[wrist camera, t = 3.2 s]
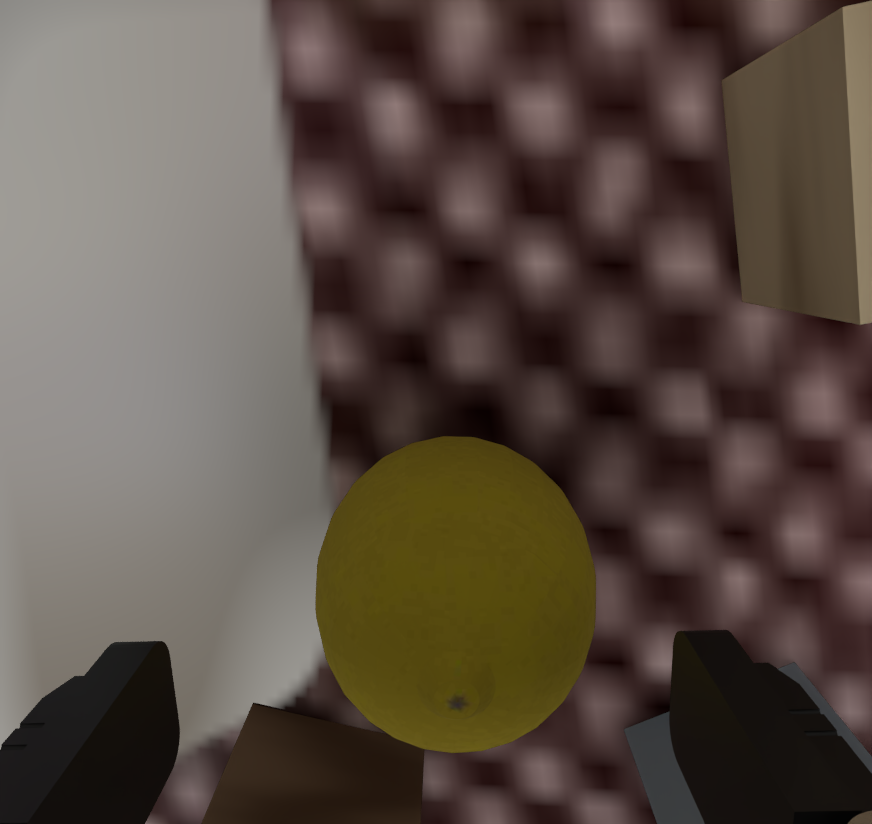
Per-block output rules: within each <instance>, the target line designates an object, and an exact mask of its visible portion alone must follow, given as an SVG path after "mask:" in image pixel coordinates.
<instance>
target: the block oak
mask: <svg viewBox="0 0 872 824" xmlns="http://www.w3.org/2000/svg"><path fill="white" fill-rule="evenodd" d="M722 91H723V102H724V113H725V123H726V134H727V144H728V155H729V166H730V176H731V187H732V197H733V208H734V219H735V229H736V240H737V250H738V261H739V272H740V282H741V293H742V302H746V303H751V304H756V305H762V306H767V307H772V308H777V309H782V310H787V311H792V312H798V313H803V314H808V315H813V316H818V317H823V318H828V319H833V320H839V321H844V322H849V323H854V324H859V325H862V324H867V323H872V1H868V2H864V3H859V4H854V5H850V6H845V7H842V8H840V9H839V10H837V11H835V12H834V13H832V14H830V15H829V16H827V17H825V18H824V19H822V20H820V21H819V22H817V23H815V24H814V25H812V26H811V27H809V28H807V29H806V30H804V31H802V32H801V33H799V34H797V35H796V36H794V37H792V38H791V39H789V40H787V41H786V42H784V43H782V44H781V45H779V46H778V47H776V48H774V49H773V50H771V51H769V52H768V53H766V54H764V55H763V56H761V57H759V58H758V59H756V60H754V61H753V62H751V63H750V64H748V65H746V66H745V67H743V68H741V69H740V70H738V71H736V72H735V73H733V74H731V75H730V76H728V77H726V78H725V79H723V80H722Z"/></svg>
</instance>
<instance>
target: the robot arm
mask: <svg viewBox="0 0 872 824" xmlns="http://www.w3.org/2000/svg"><path fill="white" fill-rule="evenodd" d="M669 727H670V736H671V742H672V747H673V751H674V754H675V758H676V760H677V763H678V765H679V767H680V770H681V772H682V774H683V776H684V779H685V781H686V783H687V785H688V787H689V790H690V792H691V794H692V796H693V799H694V801H695V803H696V805H697V807H698V810H699V812H700V814H701V816H702V818H703V821H704V823H705V824H872V773H871V772H870V771H869V769H868V768H867V767H866V766H865V764H864V763H863V762H862V761H861V760H860V758H859V757H858V756H857V755H856V753H855V752H854V751H853V750H852V748H851V747H850V746H849V745H848V743H847V742H846V741H845V740H844V738H843V737H842V736H838V734H837V730H836V729H835V727H834V726H833V725H832V724H831V722H830V721H829V720H828V719H827V717H826V716H825V715H824V714H821V713H820V709H819V708H818V706H817V705H816V704H815V703H814V701H813V700H812V699H811V698H810V696H809V695H808V694H807V693H806V691H805V690H804V689H803V688H802V686H801V685H800V684H799V683H797V682H796V681H794V680H793V679H792V678H790V677H789V676H787V675H786V674H784V673H783V672H781V671H780V670H778V669H777V668H775V667H774V666H772V665H771V664H769V663H753V662H752V660H751V659H750V658H749V656H748V655H747V654H746V652H745V651H744V649H743V648H742V647H741V645H740V644H739V643H738V641H737V640H736V639H735V637H734V636H733V635H732V634H731V632H729V631H728V630H703V631H678V632H677V633H676V635H675V638H674V644H673V659H672V677H671V694H670V711H669ZM179 735H180V728H179V719H178V711H177V704H176V697H175V690H174V682H173V676H172V668H171V661H170V654H169V650H168V647H167V646H166V644H165V643H164V642H162V641H150V642H149V641H148V642H115V643H113V644H111V645H110V646H109V647H108V648H107V649H106V650H105V651H104V653H103V654H102V655H101V656H100V657H99V659H98V660H97V661H96V662H95V663H94V665H93V666H92V667H91V668H90V670H89V671H88V672H87V673H86V674H85V676H74V677H73V678H72V679H70V680H68V681H67V682H66V683H64V684H63V685H61V686H60V687H58V688H57V689H55V690H54V691H52V692H51V693H49V694H48V695H47V696H45V697H44V698H42V699H41V700H40V702H39V703H38V704H37V705H36V706H35V707H34V708H33V710H32V711H31V712H30V713H29V714H28V715H27V716H26V718H25V719H24V720H23V721H22V722H21V723H20V728H19V729H15V730H14V731H13V732H12V734H11V735H10V736H9V737H8V738H7V739H6V740H5V742H4V743H3V744H2V747H1V750H0V824H145V822H146V820H147V818H148V816H149V814H150V812H151V811H152V809H153V807H154V805H155V803H156V801H157V799H158V797H159V795H160V793H161V791H162V789H163V787H164V785H165V783H166V781H167V779H168V777H169V775H170V773H171V771H172V769H173V767H174V764H175V761H176V757H177V753H178V747H179V737H180V736H179Z"/></svg>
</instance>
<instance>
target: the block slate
mask: <svg viewBox="0 0 872 824" xmlns="http://www.w3.org/2000/svg"><path fill="white" fill-rule="evenodd" d="M778 670H780V671H781V672H783V673H784V674H786V675H787V676H789V677H790V678H792V679H793V680H794V681H796V682H797V683H799V684H800V685H801V686H802V688H803V689H804V690H805V691H806V693H807V694H808V695H809V696H810V698H811V699H812V700H813V701H814V703H815V704H816V705H817V706H818V708H819V709H820V713H821V714H824V715H825V716H826V717H827V719H828V720H829V721H830V722H831V724H832V725H833V726H834V727H835V729H836V730H837V734H838V736H842V737H843V738H844V740H845V741H846V742H847V743H848V745H849V746H850V747H851V748H852V750H853V751H854V752H855V753H856V755H857V756H858V757H859V758H860V760H861V761H862V762H863V763H864V764H865V766H866V767H867V768H868V769H869V771H870V772H871V773H872V756H871V755H870V754H869V753H868V751H867V750H866V749H865V748H864V747H863V745H862V744H861V743H860V742H859V740H858V739H857V738H856V737H855V736H854V734H853V733H852V732H851V731H850V729H849V728H848V727H847V726H846V725H845V723H844V722H843V721H842V720H841V718H840V717H839V716H838V715H837V714H836V712H835V711H834V710H833V709H832V707H831V706H830V705H829V704H828V703H827V701H826V700H825V699H824V698H823V696H822V695H821V694H820V693H819V692H818V690H817V689H816V688H815V687H814V685H813V684H812V683H811V682H810V681H809V679H808V678H807V677H806V676H805V674H804V673H803V672H802V671H801V670H800V668H799V667H798V666H797V665H796V663H795V662H794V663H791V664H789V665H786V666H783V667H781V668H778ZM624 732H625V734H626V737H627V740H628V743H629V746H630V749H631V751H632V754H633V757H634V760H635V763H636V765H637V768H638V771H639V774H640V777H641V780H642V782H643V785H644V788H645V791H646V794H647V796H648V799H649V802H650V805H651V808H652V811H653V813H654V816H655V819H656V822H657V824H705V823H704V821H703V818H702V816H701V814H700V812H699V810H698V807H697V805H696V803H695V801H694V799H693V796H692V794H691V792H690V790H689V787H688V785H687V783H686V781H685V779H684V776H683V774H682V772H681V770H680V767H679V765H678V763H677V760H676V758H675V754H674V751H673V747H672V742H671V736H670V727H669V712H667V713H664V714H662V715H659V716H656V717H654V718H651V719H649V720H646V721H644V722H641V723H639V724H636V725H634V726H631V727H628V728H626V729H624Z"/></svg>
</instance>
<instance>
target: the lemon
mask: <svg viewBox="0 0 872 824" xmlns="http://www.w3.org/2000/svg"><path fill="white" fill-rule="evenodd" d="M316 617H317V622H318V626H319V631H320V635H321V639H322V644H323V648H324V652H325V656H326V660H327V662H328V664H329V666H330V668H331V670H332V672H333V674H334V676H335V678H336V679H337V681H338V683H339V685H340V687H341V689H342V691H343V693H344V694H345V695H346V697H347V698H348V699H349V700H350V701H351V702H352V703H353V704H354V705H355V706H356V707H357V708H358V710H359V711H360V712H361V713H362V714H363V715H364V716H365V717H366V718H367V719H368V720H369V721H370V722H371V723H372V724H374V725H376V726H377V727H379V728H380V729H382V730H383V731H385V732H386V733H388V734H389V735H391V736H392V737H394V738H396V739H398V740H401V741H403V742H406V743H409V744H411V745H414V746H417V747H419V748H422V749H428V750H435V751H442V752H449V753H460V752H473V751H483V750H486V749H490V748H493V747H496V746H500V745H503V744H507V743H510V742H512V741H514V740H516V739H517V738H519V737H521V736H523V735H524V734H526V733H528V732H530V731H532V730H533V729H535V728H537V727H538V726H539V725H540V724H541V723H542V722H543V721H544V720H545V719H546V718H547V717H548V716H549V715H550V714H551V713H552V712H553V711H555V710H556V709H557V708H558V707H559V706H560V705H561V703H562V702H563V701H564V700H565V698H566V697H567V695H568V693H569V692H570V690H571V689H572V687H573V685H574V684H575V682H576V681H577V679H578V677H579V676H580V674H581V671H582V669H583V667H584V664H585V660H586V657H587V654H588V650H589V647H590V644H591V641H592V637H593V633H594V628H595V617H596V575H595V569H594V564H593V560H592V557H591V553H590V549H589V545H588V542H587V538H586V534H585V531H584V528H583V526H582V524H581V522H580V520H579V518H578V517H577V515H576V513H575V511H574V510H573V508H572V506H571V505H570V503H569V501H568V499H567V498H566V496H565V494H564V493H563V491H562V490H561V489H560V487H559V486H558V485H557V484H556V483H555V482H554V481H553V480H552V479H550V478H549V477H548V476H547V475H546V474H545V473H544V472H543V471H542V470H541V469H540V468H539V467H538V466H537V465H536V464H535V463H533V462H532V461H531V460H529V459H527V458H525V457H524V456H522V455H520V454H518V453H516V452H515V451H513V450H511V449H509V448H508V447H506V446H504V445H500V444H497V443H493V442H489V441H486V440H482V439H479V438H475V437H454V436H442V437H437V438H433V439H428V440H424V441H419V442H415V443H411V444H409V445H407V446H405V447H403V448H401V449H399V450H397V451H395V452H393V453H391V454H389V455H387V456H385V457H383V458H382V459H381V460H379V461H378V462H377V463H376V464H375V465H374V466H373V467H371V468H370V469H369V470H368V471H367V472H366V473H364V474H363V475H362V476H361V477H360V478H359V479H358V480H356V482H355V483H354V484H353V486H352V487H351V489H350V490H349V492H348V493H347V494H346V496H345V497H344V499H343V500H342V502H341V503H340V505H339V506H338V508H337V509H336V511H335V512H334V514H333V516H332V518H331V521H330V524H329V527H328V530H327V533H326V536H325V539H324V542H323V545H322V548H321V551H320V554H319V558H318V564H317V581H316Z"/></svg>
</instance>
